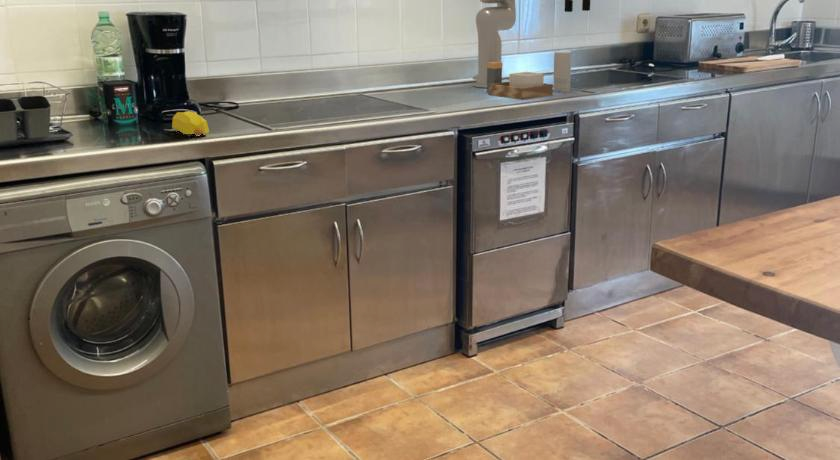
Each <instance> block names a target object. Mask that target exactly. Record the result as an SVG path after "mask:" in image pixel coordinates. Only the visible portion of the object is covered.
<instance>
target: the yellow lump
mask: <svg viewBox="0 0 840 460" xmlns="http://www.w3.org/2000/svg"><path fill="white" fill-rule="evenodd" d="M171 124H172V125H171V129H172V130H174V129H176V130H178V131H180V132H182V133H183V134H182V133H181V134H182V135H184V134H196V135H200V134H203V133H207V134H208V133H209V132H210V129H209V125H208V122H207V120H206V119H205V118H204V117H202V116H201V115H199V114H198V113H196V112H194V111H190V110H187V111H184V112H183V111H181V112H180V111H177V112H176V113H175V114H174V116H172V123H171Z"/></svg>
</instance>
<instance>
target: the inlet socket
mask: <svg viewBox="0 0 840 460" xmlns="http://www.w3.org/2000/svg"><path fill="white" fill-rule="evenodd" d="M544 77H545V76H544V73H541V72H533V71H532V72H531V71H522V72H514V73H509V77H508V78H509V86H511V87H519V88H527V87H534V86H541V85H543V83H544Z"/></svg>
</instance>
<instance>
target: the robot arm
mask: <svg viewBox="0 0 840 460" xmlns="http://www.w3.org/2000/svg"><path fill="white" fill-rule="evenodd" d="M479 1H480V2H481V3H483V4H496V6H488V7H484V8H481V9H480V10H479V11H477V14H476V16H475V26H476V31H477V48H478V49H477V55H478V56H477V74H475V76H473V77H472V79H473V80H475V81H476V82H474V85H473V86H474V87H476V88H484V89H485V88H486V89H487V63H488V62H502V39H501V36H500V34H499V32H501V31H509V30H510V29H512V28H514V26H515V25H516V24H515V23H516V21H517V19H516V18H517V11H516V10H517V9H516V0H479ZM581 3H582V4H581V5H582V6H581V11H586V12H587V11H588V12H589V11H591V0H582V2H581ZM573 4H574V0H564V12H565V13H571V12H573V7H574V5H573Z"/></svg>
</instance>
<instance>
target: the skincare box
mask: <svg viewBox="0 0 840 460" xmlns="http://www.w3.org/2000/svg"><path fill="white" fill-rule="evenodd" d="M553 56H554V57H553V93H570V92H571V77H572V74H571V73H572V71H571V70H572V51H571V50H558V51H557V50H556V51H554V55H553Z"/></svg>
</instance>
